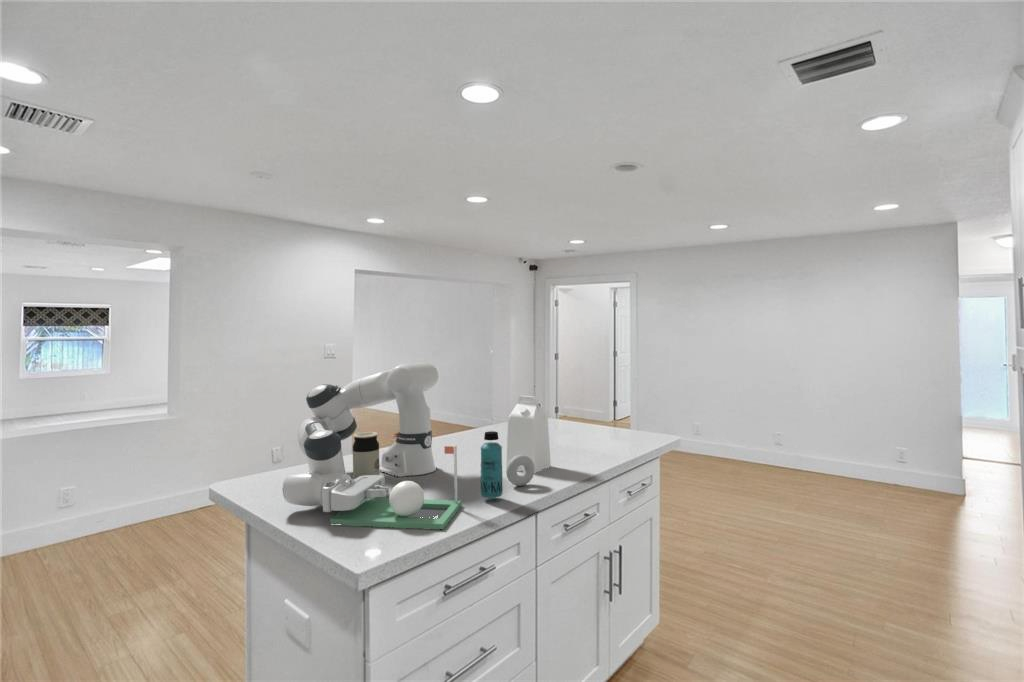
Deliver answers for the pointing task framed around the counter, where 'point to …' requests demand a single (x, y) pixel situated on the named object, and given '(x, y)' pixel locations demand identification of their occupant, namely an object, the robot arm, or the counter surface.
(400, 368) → the robot arm
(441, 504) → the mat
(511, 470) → the donut
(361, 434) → the travel mug
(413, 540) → the counter surface
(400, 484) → the ball
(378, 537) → the counter surface
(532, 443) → the milk
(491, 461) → the beverage bottle
